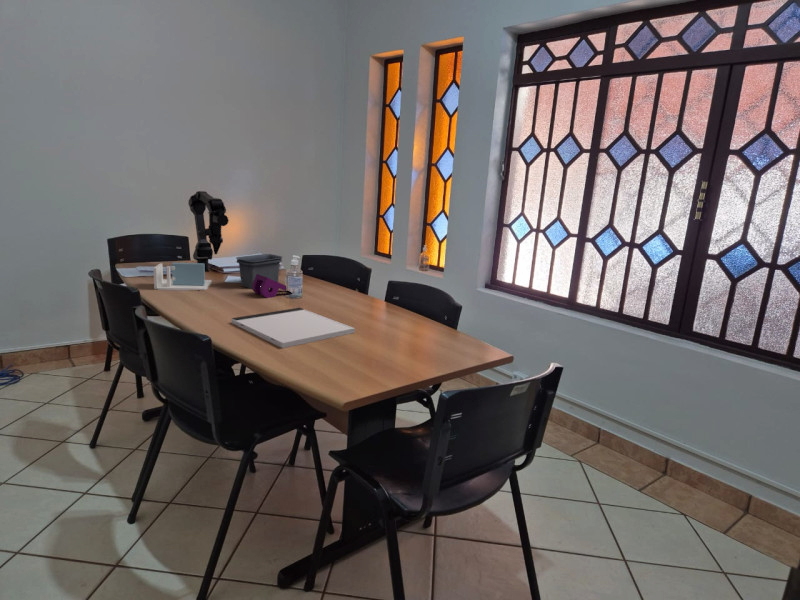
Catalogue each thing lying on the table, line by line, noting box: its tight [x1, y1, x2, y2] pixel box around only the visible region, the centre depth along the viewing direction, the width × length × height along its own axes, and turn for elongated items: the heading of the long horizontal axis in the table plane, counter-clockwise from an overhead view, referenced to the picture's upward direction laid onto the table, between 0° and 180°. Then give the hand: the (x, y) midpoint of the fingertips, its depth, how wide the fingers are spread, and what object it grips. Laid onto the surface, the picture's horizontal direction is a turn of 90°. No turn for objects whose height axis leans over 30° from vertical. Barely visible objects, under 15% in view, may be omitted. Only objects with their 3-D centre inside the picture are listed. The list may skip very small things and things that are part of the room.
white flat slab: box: [230, 307, 355, 349], centre depth 199 cm, size 35×2×31 cm
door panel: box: [170, 262, 206, 285], centre depth 248 cm, size 4×14×10 cm, turn 101°
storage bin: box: [235, 253, 284, 290], centre depth 262 cm, size 21×16×14 cm
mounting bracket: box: [251, 274, 287, 299], centre depth 247 cm, size 10×8×18 cm
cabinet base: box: [152, 262, 213, 291], centre depth 251 cm, size 19×22×10 cm
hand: (215, 254), depth 272 cm, fingers closed
